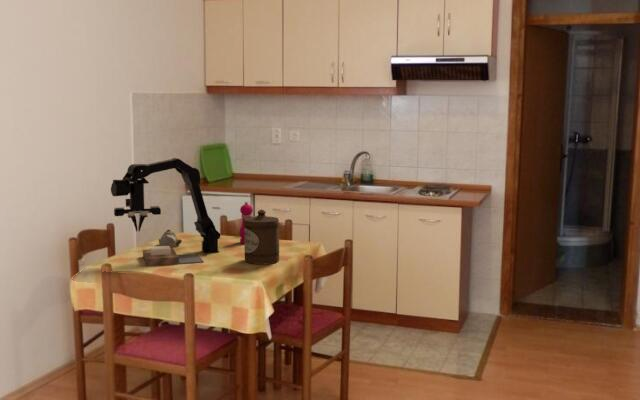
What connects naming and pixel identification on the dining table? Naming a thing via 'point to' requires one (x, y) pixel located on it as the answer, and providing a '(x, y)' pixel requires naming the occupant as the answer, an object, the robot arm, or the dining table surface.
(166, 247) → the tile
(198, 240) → the dining table surface
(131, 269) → the dining table surface
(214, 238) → the robot arm
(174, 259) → the deck
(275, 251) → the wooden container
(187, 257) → the mat
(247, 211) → the pepper mill
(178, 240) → the ceramic sculpture
